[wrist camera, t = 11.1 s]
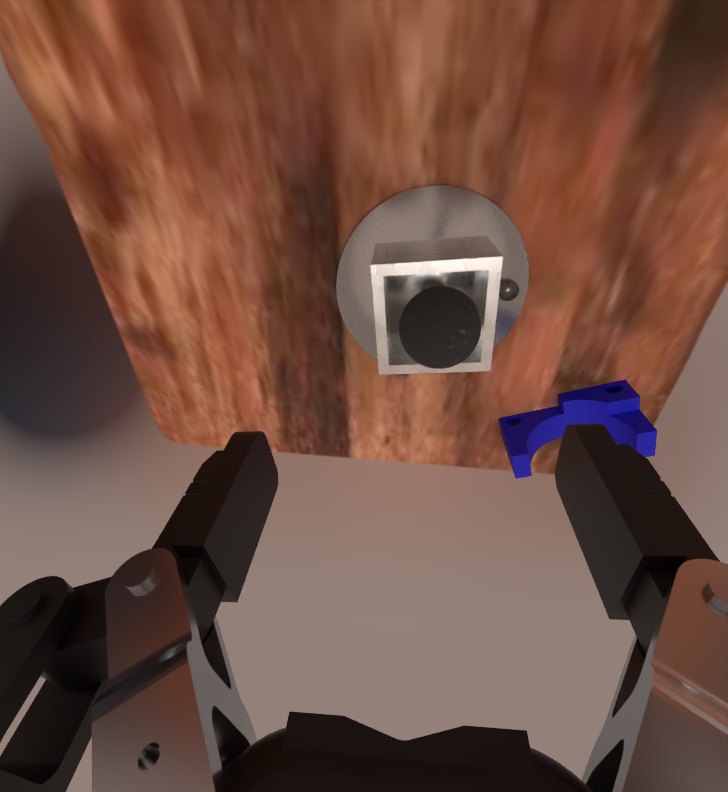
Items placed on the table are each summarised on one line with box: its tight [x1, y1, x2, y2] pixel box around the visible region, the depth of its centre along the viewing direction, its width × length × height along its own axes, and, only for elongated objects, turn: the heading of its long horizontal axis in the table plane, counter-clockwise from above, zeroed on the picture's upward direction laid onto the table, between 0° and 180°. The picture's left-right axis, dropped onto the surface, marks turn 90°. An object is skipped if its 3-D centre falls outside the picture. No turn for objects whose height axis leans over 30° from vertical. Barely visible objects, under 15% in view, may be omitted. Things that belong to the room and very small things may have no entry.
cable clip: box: [499, 380, 657, 478], centre depth 37 cm, size 12×4×6 cm, turn 109°
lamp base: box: [336, 185, 529, 375], centre depth 31 cm, size 16×16×7 cm
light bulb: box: [399, 281, 481, 369], centre depth 29 cm, size 6×6×10 cm
